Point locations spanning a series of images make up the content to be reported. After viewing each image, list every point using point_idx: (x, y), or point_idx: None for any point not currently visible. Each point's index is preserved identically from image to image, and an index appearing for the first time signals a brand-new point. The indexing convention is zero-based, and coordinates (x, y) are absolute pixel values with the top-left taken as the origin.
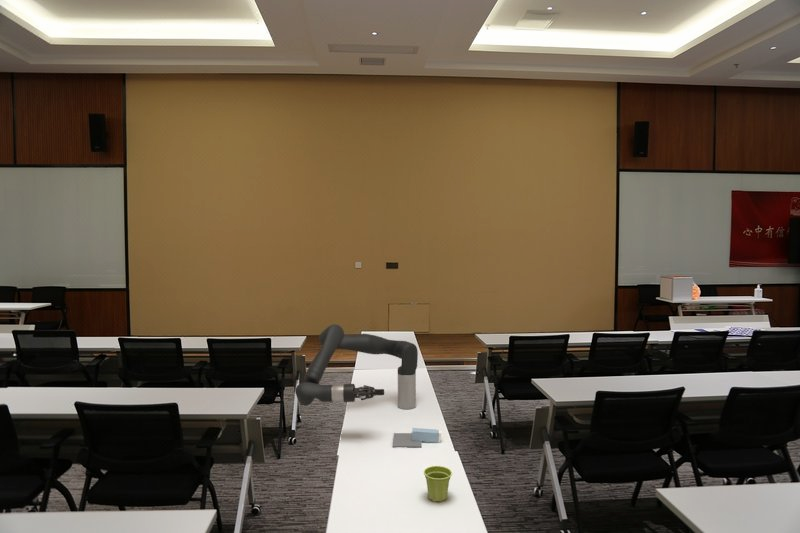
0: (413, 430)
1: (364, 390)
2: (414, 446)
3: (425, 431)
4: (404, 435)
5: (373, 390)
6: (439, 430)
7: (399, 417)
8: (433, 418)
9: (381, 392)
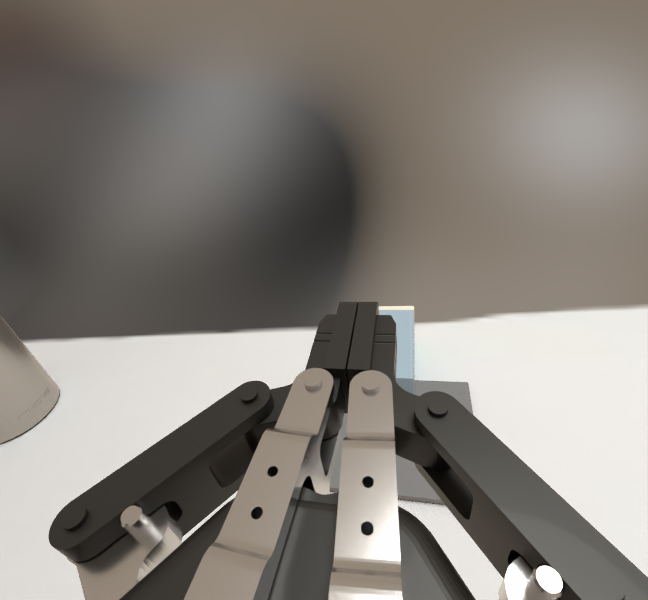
0: (403, 375)
1: (398, 532)
2: (471, 406)
3: (405, 340)
4: (345, 437)
5: (384, 388)
6: (386, 308)
7: (110, 448)
8: (195, 341)
9: (395, 332)
